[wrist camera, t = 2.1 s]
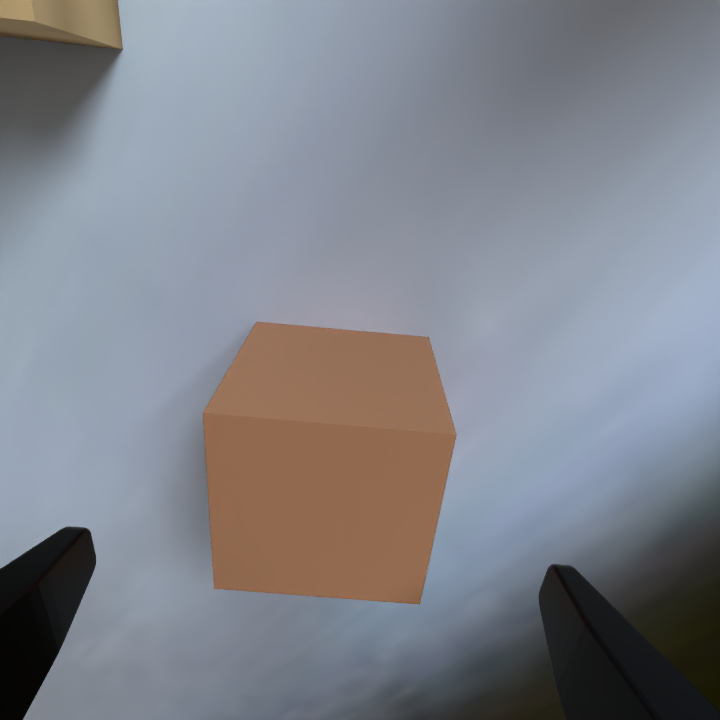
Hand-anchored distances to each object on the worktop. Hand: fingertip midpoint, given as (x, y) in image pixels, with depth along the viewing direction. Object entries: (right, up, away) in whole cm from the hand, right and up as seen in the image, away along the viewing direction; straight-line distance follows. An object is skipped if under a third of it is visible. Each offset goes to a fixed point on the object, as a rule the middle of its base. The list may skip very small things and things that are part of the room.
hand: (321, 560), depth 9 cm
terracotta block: (0, +3, +6) cm, 6 cm away
